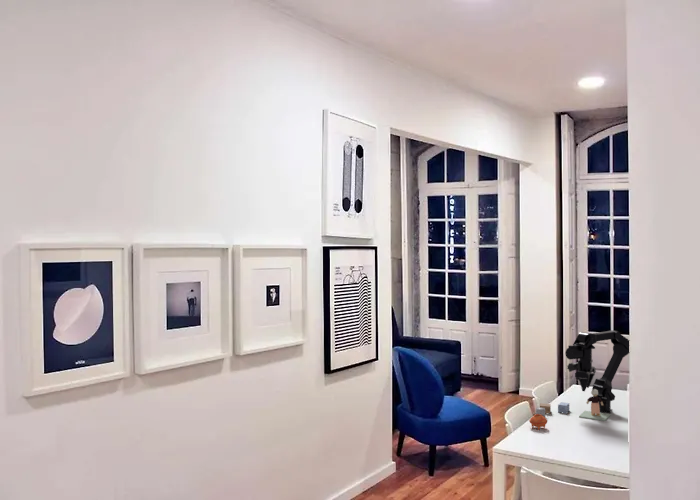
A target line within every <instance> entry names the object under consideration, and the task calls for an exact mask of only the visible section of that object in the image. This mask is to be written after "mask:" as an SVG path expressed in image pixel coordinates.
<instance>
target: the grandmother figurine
mask: <svg viewBox="0 0 700 500" xmlns="http://www.w3.org/2000/svg"><path fill="white" fill-rule="evenodd" d="M590 394H591V395H592V396H590V397H589V398H587V401H586V402H585V403H586V404H587V405H588V404H589V403H590V402H591V403H590V411H591V415H592V416H595V414H596V416H600V415H601V414H600V413H601V412H600V408H599V402H600V403H601V405H603V402H602V400H601V399H600V398H599V397H596V396H597V395H598V390H596V389H593V390H592V389H591V392H590ZM598 401H599V402H598Z"/></svg>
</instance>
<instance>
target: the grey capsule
mask: <svg viewBox="0 0 700 500" xmlns="http://www.w3.org/2000/svg"><path fill="white" fill-rule="evenodd" d="M535 414H540V415H542V416H543V417H545V418H546V414H545V408H540V407H536V408H535Z"/></svg>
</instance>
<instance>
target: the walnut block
mask: <svg viewBox="0 0 700 500" xmlns="http://www.w3.org/2000/svg"><path fill="white" fill-rule="evenodd" d="M551 404H552V403H539V408H545V413H550V414H551V407H552V405H551Z"/></svg>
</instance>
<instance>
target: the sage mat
mask: <svg viewBox="0 0 700 500" xmlns="http://www.w3.org/2000/svg"><path fill="white" fill-rule="evenodd" d="M600 414H601V415H600V416H596V414H595V416H592V415H591V410H584V411H582V413H580V415H578V418H582V419H587V420H588V419H589V420H593V421H594V420H595V421H601V422H606V421H607V420H608V419H609V418H610V416H611V413H606V412H600Z"/></svg>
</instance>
